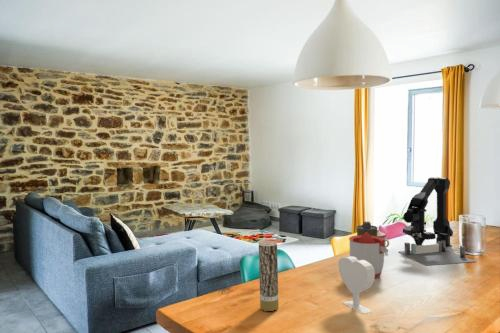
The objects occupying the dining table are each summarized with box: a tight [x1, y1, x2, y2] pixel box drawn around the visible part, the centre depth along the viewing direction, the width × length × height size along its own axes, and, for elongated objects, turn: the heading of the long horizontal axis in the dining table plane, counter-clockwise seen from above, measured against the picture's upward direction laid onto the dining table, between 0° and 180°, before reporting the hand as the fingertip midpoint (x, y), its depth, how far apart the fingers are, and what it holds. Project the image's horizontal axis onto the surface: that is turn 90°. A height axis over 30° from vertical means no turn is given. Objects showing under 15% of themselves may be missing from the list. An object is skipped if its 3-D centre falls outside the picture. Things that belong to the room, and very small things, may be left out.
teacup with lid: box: [377, 228, 390, 248], centre depth 226 cm, size 12×9×12 cm
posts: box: [404, 240, 466, 258], centre depth 211 cm, size 26×14×6 cm, turn 99°
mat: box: [398, 248, 477, 267], centre depth 211 cm, size 27×26×1 cm
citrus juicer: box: [348, 232, 389, 279], centre depth 183 cm, size 16×17×20 cm
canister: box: [356, 221, 378, 236], centre depth 208 cm, size 11×10×20 cm
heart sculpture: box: [338, 255, 376, 314], centre depth 149 cm, size 16×5×18 cm, turn 28°
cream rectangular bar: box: [410, 241, 442, 254], centre depth 217 cm, size 18×2×5 cm, turn 103°
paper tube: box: [258, 239, 279, 312], centre depth 149 cm, size 7×7×25 cm
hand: (418, 248), depth 218 cm, fingers closed
